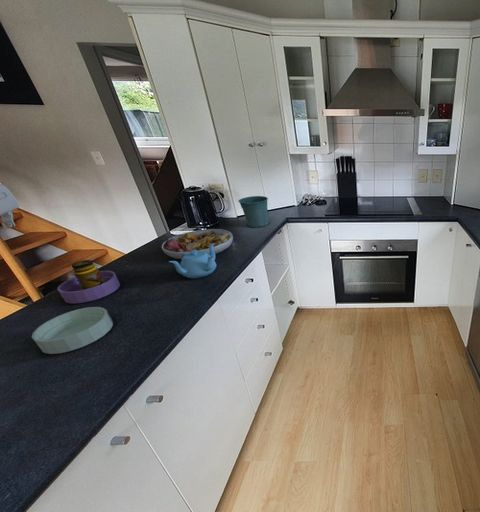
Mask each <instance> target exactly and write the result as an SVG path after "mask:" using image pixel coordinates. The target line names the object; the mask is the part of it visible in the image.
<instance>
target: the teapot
mask: <svg viewBox="0 0 480 512" xmlns="http://www.w3.org/2000/svg"><path fill="white" fill-rule="evenodd" d="M213 246H214V243H212V244H211V245H210V247H209V254H207V253H206V252H204V251H197V250H192V251H190V253H183V254H182V259H181V261H180V263H179V261H176V260H169V261H168V263H170V264H173V265H174V267H175V271H176V272H177V273H178V274H179V275H181V276H183V277H185V278H188V279H200V278H204V277H207V276H209V275H211V274H212V273H214V272H215V270H216V268H217V262H216V261H215V260H216V254H215V252H214V250H213Z"/></svg>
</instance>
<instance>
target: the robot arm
mask: <svg viewBox="0 0 480 512" xmlns="http://www.w3.org/2000/svg"><path fill="white" fill-rule="evenodd" d="M19 208H20V204H19V201H18V200H17V199H16V197H15V196H14V194H13V193H12V192H11V191H10V190H9V188H8V187H7V186H6V185H3V184H2V183H1V182H0V217H1V221H2V222H1V223H0V224H1V225H2V227H3V229H12V228H15V227H16V223H15V222H14V214H13V212H12V211H14V210H17V209H19Z"/></svg>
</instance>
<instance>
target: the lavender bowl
mask: <svg viewBox="0 0 480 512" xmlns="http://www.w3.org/2000/svg"><path fill="white" fill-rule="evenodd" d="M99 272H100V274H101V276H102V278H103V280H104V282H105V283H103V284H101V285H98V286H95V287H92V288H89V289H85V290H83V289H82V287H81V286H80V283H79V282H78V281H77V278H76V276H74V277H71V278H69V279H67V280H66V281H64V282H62V283H60V284H59V285H58V286H57V289H56V291H57V292H58V294H59V295H60V297H61V299H62V300H63V302H64V303H66V304H82V303H83V304H84V303H88V302H92V301H96V300H99V299H102V298H105V297H107V296H109V295H111V294H113V293H114V292H115V291H117V290H118V289H119V288H120V286H121V282H120V280H119V278H118V276H117V273H116V272H114V271H112V270H99ZM65 286H66V287H65ZM79 290H80V291H79Z"/></svg>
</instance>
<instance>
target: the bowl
mask: <svg viewBox="0 0 480 512" xmlns="http://www.w3.org/2000/svg"><path fill="white" fill-rule="evenodd" d="M233 240H234V235H233V233H232V232H231V231H230V230H226V229H220V228H209V229H198V230H193V231H188V232H183V233H181V234H177V235H175V236H172V237H170V238H168V239H167V240H165V241H163V243H162V245H161V249H162V252H163V253H164V254H165V255H166V256H168V257H170V258H171V259H172V258H173V259H177V260H182V254H183V253H190V251H192V250H197V251H204V252H206V253H207V254H209V247H210V245H211V244H212V243H214V246H213V250H214V252H215V255H216V254H220V253H221V252H223V251H225V250H226V249H228V248H229V247H230V246H231V245H232V243H233V242H234V241H233Z"/></svg>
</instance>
